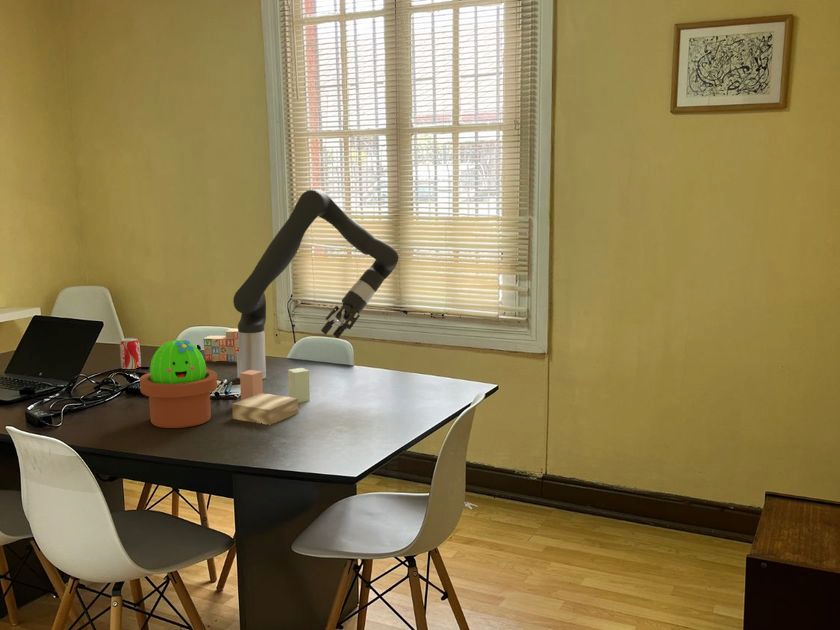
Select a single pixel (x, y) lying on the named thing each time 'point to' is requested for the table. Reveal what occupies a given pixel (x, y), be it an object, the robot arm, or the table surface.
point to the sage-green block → (299, 384)
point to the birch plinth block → (265, 408)
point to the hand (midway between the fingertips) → (329, 334)
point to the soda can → (130, 353)
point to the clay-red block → (251, 383)
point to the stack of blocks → (222, 347)
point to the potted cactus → (178, 386)
